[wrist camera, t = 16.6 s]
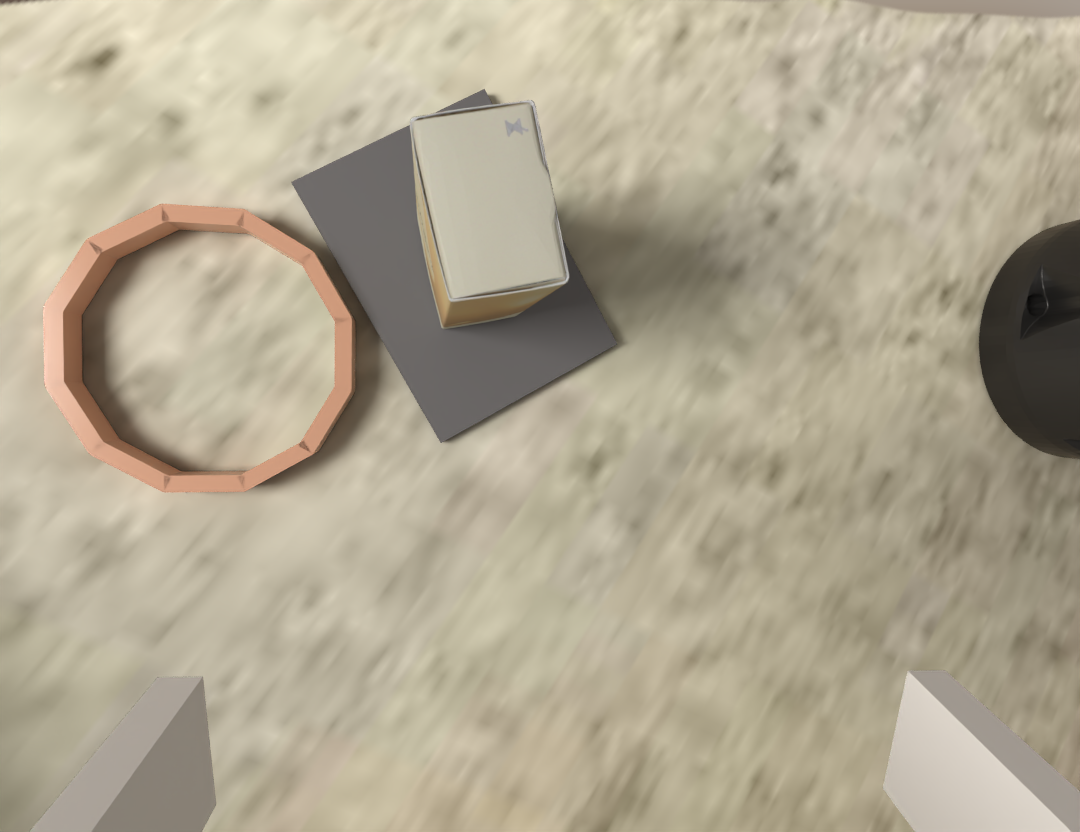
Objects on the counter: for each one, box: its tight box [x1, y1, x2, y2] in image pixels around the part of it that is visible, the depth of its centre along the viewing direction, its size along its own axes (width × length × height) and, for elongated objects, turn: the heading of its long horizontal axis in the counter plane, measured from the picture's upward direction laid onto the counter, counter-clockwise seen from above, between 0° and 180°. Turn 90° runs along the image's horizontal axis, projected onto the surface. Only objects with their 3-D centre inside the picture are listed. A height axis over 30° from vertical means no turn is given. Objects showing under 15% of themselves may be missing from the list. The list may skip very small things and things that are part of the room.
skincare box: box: [410, 100, 569, 329], centre depth 26 cm, size 6×4×12 cm
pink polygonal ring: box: [43, 204, 356, 492], centre depth 30 cm, size 14×14×2 cm
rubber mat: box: [291, 89, 617, 443], centre depth 32 cm, size 11×15×1 cm
